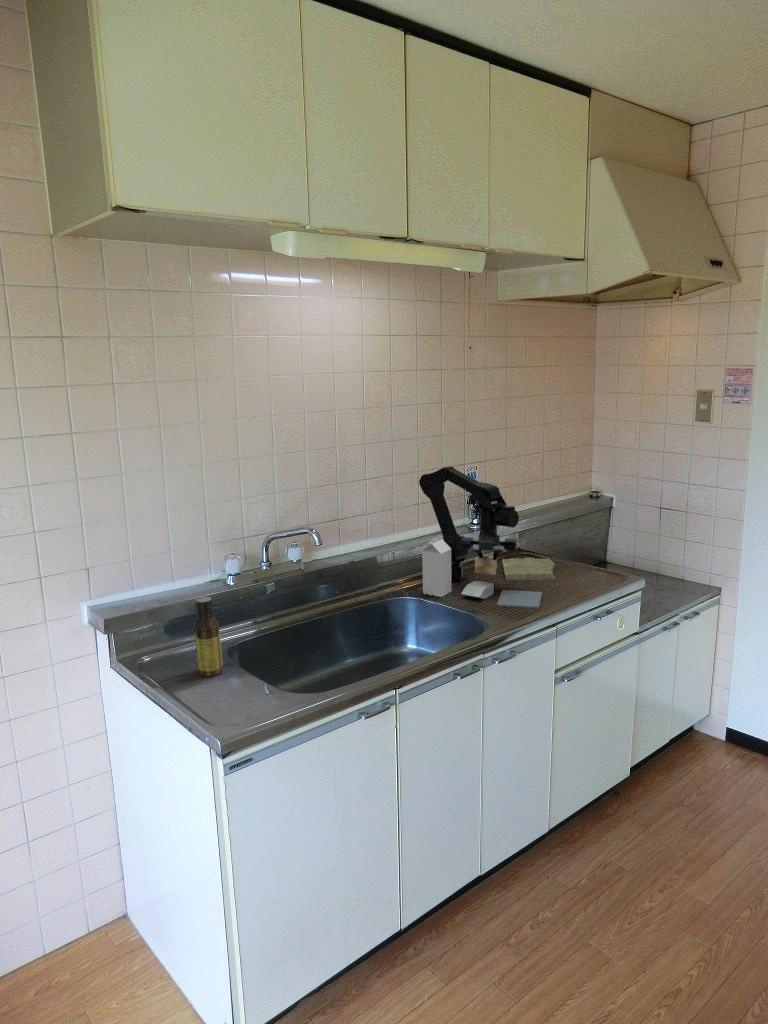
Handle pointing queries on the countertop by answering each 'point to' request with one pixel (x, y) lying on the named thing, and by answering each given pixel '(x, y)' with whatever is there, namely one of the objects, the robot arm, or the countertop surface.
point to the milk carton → (437, 568)
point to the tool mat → (520, 599)
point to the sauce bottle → (207, 639)
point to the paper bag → (479, 589)
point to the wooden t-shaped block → (486, 565)
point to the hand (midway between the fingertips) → (488, 568)
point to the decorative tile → (528, 569)
